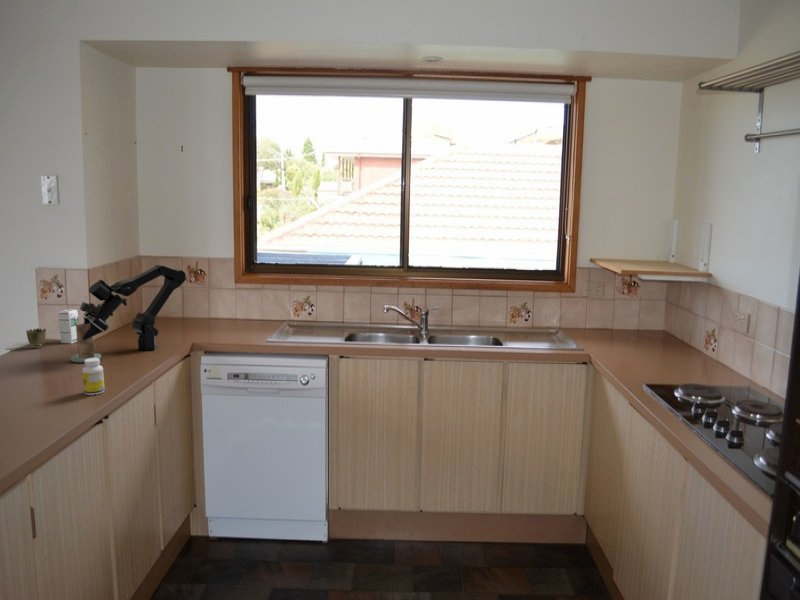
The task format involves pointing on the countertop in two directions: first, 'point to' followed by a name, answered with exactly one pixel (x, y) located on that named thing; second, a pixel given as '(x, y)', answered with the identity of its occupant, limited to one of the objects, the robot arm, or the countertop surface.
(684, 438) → the countertop surface
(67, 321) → the syrup box
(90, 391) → the pill bottle
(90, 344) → the walnut block
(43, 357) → the countertop surface
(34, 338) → the cup
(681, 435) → the countertop surface
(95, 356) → the dish
